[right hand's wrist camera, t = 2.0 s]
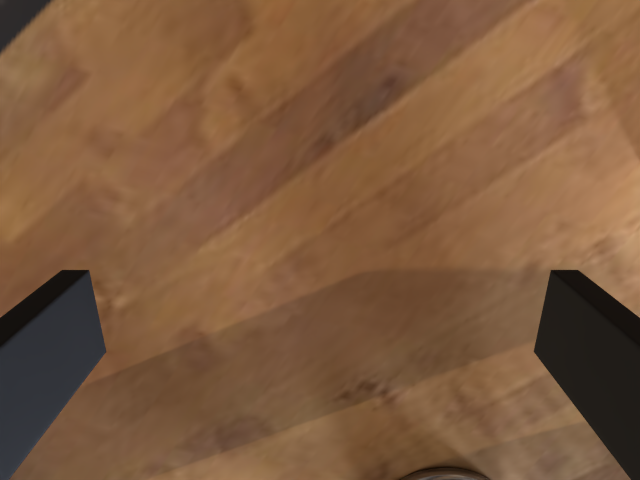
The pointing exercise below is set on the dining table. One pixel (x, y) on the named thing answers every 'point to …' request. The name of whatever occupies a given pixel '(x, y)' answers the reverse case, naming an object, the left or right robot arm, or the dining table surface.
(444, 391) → the dining table surface
